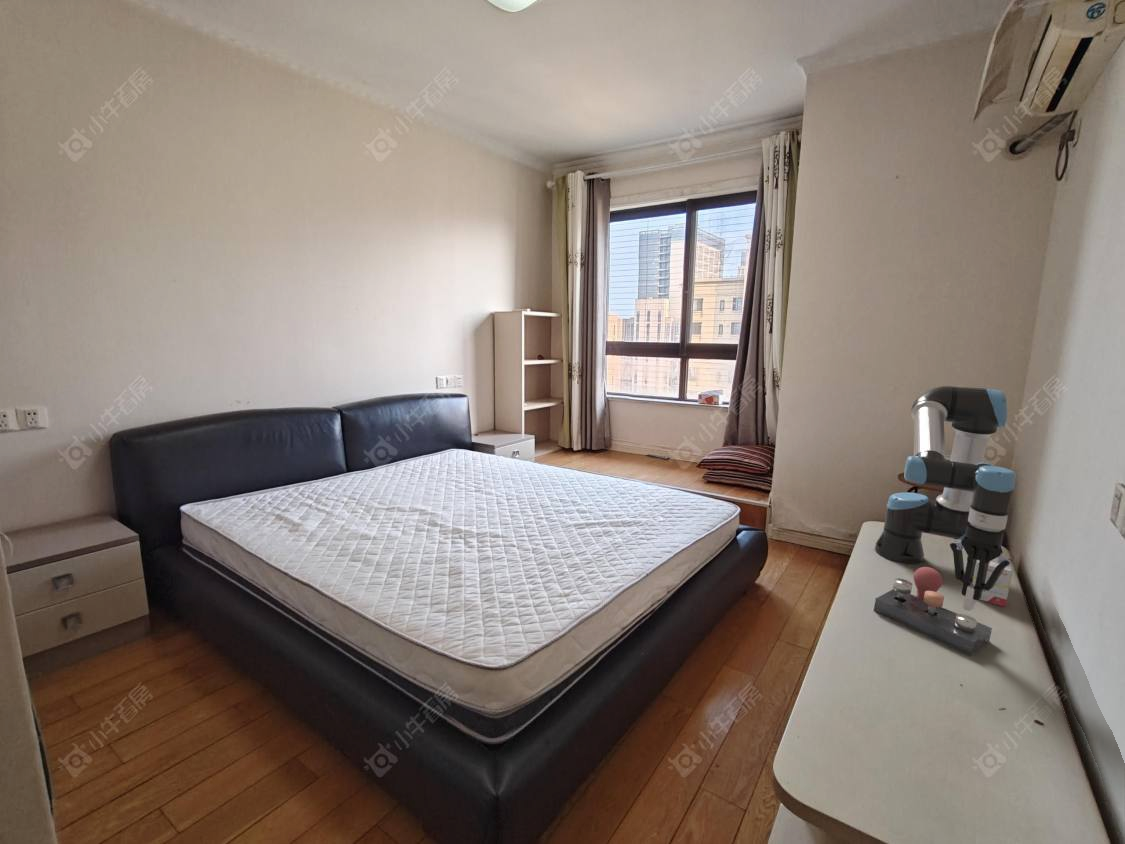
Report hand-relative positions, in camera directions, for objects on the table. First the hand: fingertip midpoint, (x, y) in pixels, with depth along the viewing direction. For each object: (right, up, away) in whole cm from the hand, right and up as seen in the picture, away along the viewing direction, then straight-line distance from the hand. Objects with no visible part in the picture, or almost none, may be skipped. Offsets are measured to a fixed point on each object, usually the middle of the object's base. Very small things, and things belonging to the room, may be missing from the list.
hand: (968, 608), depth 135 cm
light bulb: (+1, -6, +19) cm, 20 cm away
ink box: (+25, -6, +23) cm, 34 cm away
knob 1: (-9, -3, +14) cm, 17 cm away
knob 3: (-1, -9, +1) cm, 9 cm away
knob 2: (-5, -4, +7) cm, 10 cm away
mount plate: (-5, -8, +8) cm, 12 cm away
